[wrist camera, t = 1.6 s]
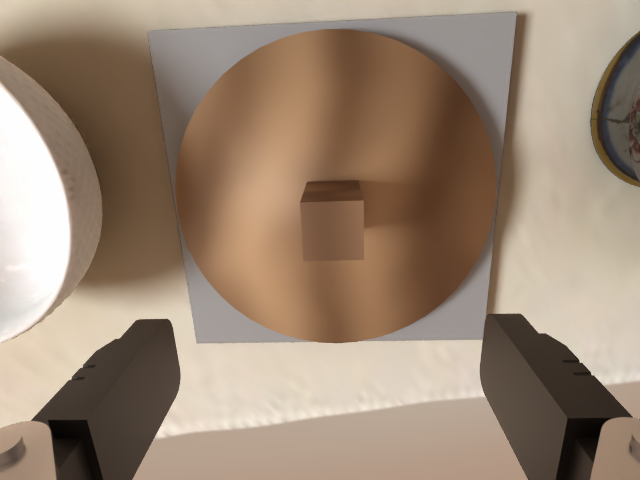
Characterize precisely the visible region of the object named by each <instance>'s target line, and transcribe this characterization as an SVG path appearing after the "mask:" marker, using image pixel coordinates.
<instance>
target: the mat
mask: <svg viewBox="0 0 640 480" xmlns="http://www.w3.org/2000/svg"><path fill="white" fill-rule="evenodd" d="M516 16H517V12H503V13H484V14H464V15H445V16H425V17H406V18H387V19H367V20H348V21H328V22H309V23H290V24H270V25H251V26H231V27H212V28H192V29H173V30H154V31H147V34H148V40H149V46H150V53H151V59H152V65H153V72H154V78H155V84H156V90H157V97H158V103H159V109H160V116H161V122H162V128H163V134H164V141H165V147H166V153H167V160H168V166H169V172H170V178H171V185H172V191H173V197H174V204H175V210H176V216H177V222H178V229H179V235H180V241H181V248H182V254H183V260H184V266H185V273H186V279H187V285H188V292H189V298H190V304H191V310H192V317H193V323H194V329H195V336H196V342H197V343H261V342H314V341H307V340H301V339H297V338H294V337H290V336H286V335H283V334H280V333H278V332H275V331H273V330H270V329H268V328H266V327H264V326H262V325H260V324H258V323H256V322H254V321H253V320H251V319H249V318H248V317H246V316H245V315H243V314H242V313H241V312H239V311H238V310H236V309H235V308H234V307H233V306H231V305H230V304H229V303H228V302H227V301H226V300H225V299H224V298H222V297H221V296H220V295H219V294H218V292H217V291H216V290H215V289H214V288H213V287H212V286H211V284H210V283H209V282H208V281H207V279H206V278H205V277H204V275H203V274H202V272H201V271H200V269H199V268H198V266H197V265H196V263H195V261H194V259H193V257H192V255H191V253H190V251H189V249H188V247H187V244H186V241H185V238H184V236H183V233H182V230H181V226H180V221H179V217H178V213H177V205H176V194H175V182H176V167H177V161H178V156H179V150H180V147H181V144H182V140H183V137H184V134H185V131H186V128H187V126H188V124H189V122H190V120H191V118H192V116H193V114H194V112H195V110H196V108H197V107H198V105H199V104H200V102H201V101H202V99H203V98H204V96H205V95H206V93H207V92H208V90H209V89H210V88H211V87H212V86H213V85H214V84H215V83H216V82H217V80H218V79H219V78H220V77H221V76H222V75H223V74H224V73H225V72H226V71H228V70H229V69H230V68H231V67H232V66H233V65H235V64H236V63H237V62H238V61H239V60H241V59H242V58H244V57H246V56H247V55H249V54H250V53H252V52H254V51H255V50H257V49H258V48H260V47H262V46H265V45H267V44H269V43H271V42H274V41H276V40H278V39H281V38H284V37H287V36H291V35H295V34H298V33H302V32H307V31H315V30H323V29H352V30H358V31H364V32H370V33H375V34H378V35H382V36H385V37H388V38H391V39H394V40H397V41H399V42H401V43H403V44H405V45H407V46H409V47H411V48H413V49H415V50H417V51H419V52H421V53H422V54H424V55H425V56H427V57H428V58H429V59H431V60H432V61H434V62H435V63H437V64H438V65H439V66H440V67H441V68H442V69H443V70H444V71H446V72H447V73H448V74H449V75H450V76H451V77H452V78H453V79H454V80H455V81H456V82H457V83H458V85H459V86H460V87H461V89H462V90H463V91H464V92H465V94H466V95H467V96H468V97H469V99H470V100H471V102H472V104H473V106H474V107H475V109H476V111H477V112H478V114H479V116H480V118H481V120H482V123H483V125H484V127H485V130H486V132H487V135H488V137H489V141H490V145H491V149H492V153H493V157H494V164H495V173H496V201H495V207H494V213H493V219H492V223H491V226H490V230H489V233H488V236H487V239H486V242H485V244H484V246H483V248H482V251H481V253H480V255H479V257H478V259H477V261H476V262H475V264H474V266H473V267H472V269H471V270H470V272H469V274H468V275H467V277H466V278H465V279H464V280H463V282H462V283H461V284H460V285H459V286H458V288H457V289H456V290H455V291H454V292H453V293H452V294H451V295H450V296H449V297H448V298H447V299H446V300H445V301H444V302H443V303H442V304H441V305H439V306H438V307H437V308H435V309H434V310H433V311H431V312H430V313H429V314H427V315H426V316H425V317H423V318H421V319H419V320H418V321H416V322H414V323H413V324H411V325H409V326H407V327H405V328H402V329H400V330H398V331H395V332H393V333H390V334H387V335H384V336H380V337H377V338H374V339H368V340H363V341H407V340H481V339H483V334H484V324H485V319H486V309H487V300H488V290H489V280H490V270H491V261H492V251H493V241H494V231H495V221H496V212H497V202H498V192H499V182H500V173H501V163H502V153H503V143H504V134H505V124H506V114H507V104H508V94H509V85H510V75H511V65H512V55H513V46H514V36H515V26H516Z"/></svg>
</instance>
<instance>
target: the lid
mask: <svg viewBox="0 0 640 480" xmlns="http://www.w3.org/2000/svg"><path fill="white" fill-rule="evenodd" d="M175 194H176V205H177V213H178V217H179V221H180V226H181V230H182V233H183V236H184V238H185V241H186V244H187V247H188V249H189V251H190V253H191V255H192V257H193V259H194V261H195V263H196V265H197V266H198V268H199V269H200V271H201V272H202V274H203V275H204V277H205V278H206V279H207V281H208V282H209V283H210V284H211V286H212V287H213V288H214V289H215V290H216V291H217V292H218V294H219V295H220V296H221V297H222V298H224V299H225V300H226V301H227V302H228V303H229V304H230V305H231V306H233V307H234V308H235V309H236V310H238V311H239V312H241V313H242V314H243V315H245V316H246V317H248V318H249V319H251V320H253V321H254V322H256V323H258V324H260V325H262V326H264V327H266V328H268V329H270V330H273V331H275V332H278V333H280V334H283V335H286V336H290V337H294V338H297V339H301V340H307V341H314V342H323V343H346V342H358V341H363V340H368V339H374V338H377V337H380V336H384V335H387V334H390V333H393V332H395V331H398V330H400V329H402V328H405V327H407V326H409V325H411V324H413V323H414V322H416V321H418V320H419V319H421V318H423V317H425V316H426V315H427V314H429V313H430V312H431V311H433V310H434V309H435V308H437V307H438V306H439V305H441V304H442V303H443V302H444V301H445V300H446V299H447V298H448V297H449V296H450V295H451V294H452V293H453V292H454V291H455V290H456V289H457V288H458V286H459V285H460V284H461V283H462V282H463V280H464V279H465V278H466V277H467V275H468V274H469V272H470V270H471V269H472V267H473V266H474V264H475V262H476V261H477V259H478V257H479V255H480V253H481V251H482V248H483V246H484V244H485V242H486V239H487V236H488V233H489V230H490V226H491V223H492V219H493V213H494V207H495V201H496V173H495V164H494V157H493V153H492V149H491V145H490V141H489V137H488V135H487V132H486V130H485V127H484V125H483V123H482V120H481V118H480V116H479V114H478V112H477V111H476V109H475V107H474V106H473V104H472V102H471V100H470V99H469V97H468V96H467V95H466V94H465V92H464V91H463V90H462V89H461V87H460V86H459V85H458V83H457V82H456V81H455V80H454V79H453V78H452V77H451V76H450V75H449V74H448V73H447V72H446V71H444V70H443V69H442V68H441V67H440V66H439V65H438V64H437V63H435V62H434V61H432V60H431V59H429V58H428V57H427V56H425V55H424V54H422V53H421V52H419V51H417V50H415V49H413V48H411V47H409V46H407V45H405V44H403V43H401V42H399V41H397V40H394V39H391V38H388V37H385V36H382V35H378V34H375V33H370V32H364V31H358V30H352V29H323V30H315V31H307V32H302V33H298V34H295V35H291V36H287V37H284V38H281V39H278V40H276V41H274V42H271V43H269V44H267V45H265V46H262V47H260V48H258V49H257V50H255V51H254V52H252V53H250V54H249V55H247V56H246V57H244V58H242V59H241V60H239V61H238V62H237V63H236V64H235V65H233V66H232V67H231V68H230V69H229V70H228V71H226V72H225V73H224V74H223V75H222V76H221V77H220V78H219V79H218V80H217V82H216V83H215V84H214V85H213V86H212V87H211V88H210V89H209V90H208V92H207V93H206V95H205V96H204V98H203V99H202V101H201V102H200V104H199V105H198V107H197V108H196V110H195V112H194V114H193V116H192V118H191V120H190V122H189V124H188V126H187V128H186V131H185V134H184V137H183V140H182V144H181V147H180V150H179V156H178V161H177V167H176V182H175Z"/></svg>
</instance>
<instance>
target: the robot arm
mask: <svg viewBox="0 0 640 480" xmlns="http://www.w3.org/2000/svg"><path fill="white" fill-rule="evenodd" d="M480 379H481V384H482V388H483V391H484V394H485V396H486V398H487V400H488V402H489V404H490V406H491V407H492V410H493V412H494V414H495V415H496V417H497V419H498V421H499V423H500V425H501V427H502V429H503V431H504V433H505V435H506V437H507V439H508V441H509V443H510V445H511V447H512V449H513V451H514V453H515V455H516V457H517V459H518V461H519V463H520V465H521V466H522V469H523V470H524V472H525V474H526V476H527V478H528V480H640V419H638V418H633V417H632V416H631V415H630V414H629V413H628V412H627V411H626V409H625V408H624V407H623V406H622V405H621V404H620V403H619V402H618V401H617V400H616V399H615V398H614V397H613V395H612V394H611V393H610V392H609V391H608V390H607V389H606V388H605V387H604V386H603V385H602V384H601V383H600V382H599V381H598V379H597V378H596V377H595V376H591V372H590V371H589V370H588V369H587V368H586V367H585V366H584V365H583V363H580V362H579V359H578V358H577V357H576V356H575V355H574V354H573V353H572V352H571V351H570V350H569V349H568V347H567V346H566V345H564V344H562V343H561V342H559V341H557V340H556V339H554V338H552V337H551V336H549V335H547V334H539V333H538V332H537V331H536V330H535V329H534V328H533V327H532V325H531V324H530V323H529V322H528V321H527V320H526V318H525V317H524V316H523V315H521V314H489V315H487V317H486V319H485V324H484V334H483V343H482V353H481V362H480ZM179 385H180V367H179V361H178V355H177V349H176V344H175V338H174V332H173V327H172V324H171V322H170V321H169V320H168V319H139V320H136V321H135V322H134V323H133V324H132V326H131V327H130V328H129V329H128V330H127V331H126V332H125V333H124V335H123V336H122V337H121V338H120V339H115V340H113V341H112V342H110V343H109V344H107V345H105V346H104V347H102V348H101V349H99V350H97V351H96V352H95V353H94V354H93V355H92V356H91V357H90V358H89V359H88V360H87V362H86V363H85V364H84V365H83V368H80V369H79V370H78V371H77V372H76V373H75V374H74V375H73V376H72V380H69V381H68V382H67V383H66V384H65V385H64V386H63V387H62V388H61V389H60V390H59V391H58V392H57V393H56V395H55V396H54V397H53V398H52V399H51V400H50V401H49V402H48V403H47V404H46V405H45V406H44V407H43V408H42V409H41V411H40V412H39V413H38V414H37V415H36V416H35V417H34V418H33V419H32V420H31V421H26V422H20V423H16V424H12V425H9V426H6V427H3V428H1V429H0V480H132V479H133V477H134V475H135V473H136V471H137V469H138V467H139V466H140V464H141V462H142V460H143V458H144V456H145V454H146V452H147V450H148V449H149V446H150V445H151V443H152V441H153V439H154V437H155V435H156V433H157V432H158V430H159V428H160V426H161V424H162V422H163V420H164V418H165V416H166V415H167V413H168V411H169V409H170V407H171V405H172V403H173V401H174V399H175V398H176V395H177V393H178V390H179Z"/></svg>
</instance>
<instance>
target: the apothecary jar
mask: <svg viewBox="0 0 640 480" xmlns="http://www.w3.org/2000/svg"><path fill="white" fill-rule="evenodd" d="M590 124H591V134H592V140H593V144H594V147H595V149H596V152H597V154H598V156H599V157H600V159H601V161H602V162H603V164H604V165H605V166H606V167H607V168H608V169H609V170H610V171H611V172H612V173H613V174H614V175H615V176H617V177H618V178H620V179H621V180H623V181H625V182H627V183H629V184H631V185H635V186H638V187H640V31H639V32H638V33H637V34H636V35H634V36H633V37H632V38H631V39H630V40H629V41H628V42H627V43H626V44H625V45H624V46H623V47H622V48H621V49H620V50H619V52H618V53H617V54H616V55H615V57H614V58H613V59H612V61H611V62H610V64H609V65H608V67H607V68H606V70H605V72H604V74H603V76H602V78H601V80H600V83H599V85H598V88H597V90H596V93H595V96H594V100H593V104H592V110H591V120H590Z"/></svg>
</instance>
